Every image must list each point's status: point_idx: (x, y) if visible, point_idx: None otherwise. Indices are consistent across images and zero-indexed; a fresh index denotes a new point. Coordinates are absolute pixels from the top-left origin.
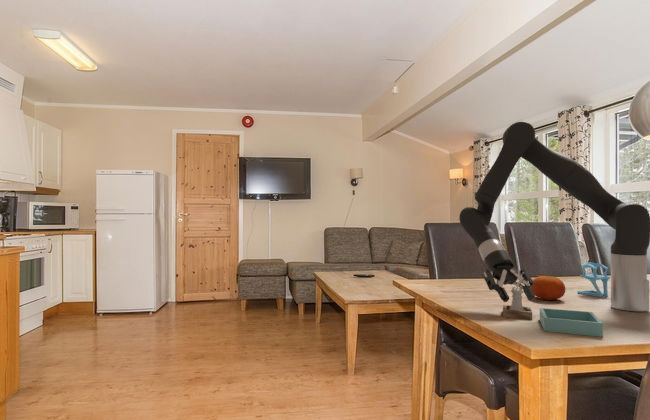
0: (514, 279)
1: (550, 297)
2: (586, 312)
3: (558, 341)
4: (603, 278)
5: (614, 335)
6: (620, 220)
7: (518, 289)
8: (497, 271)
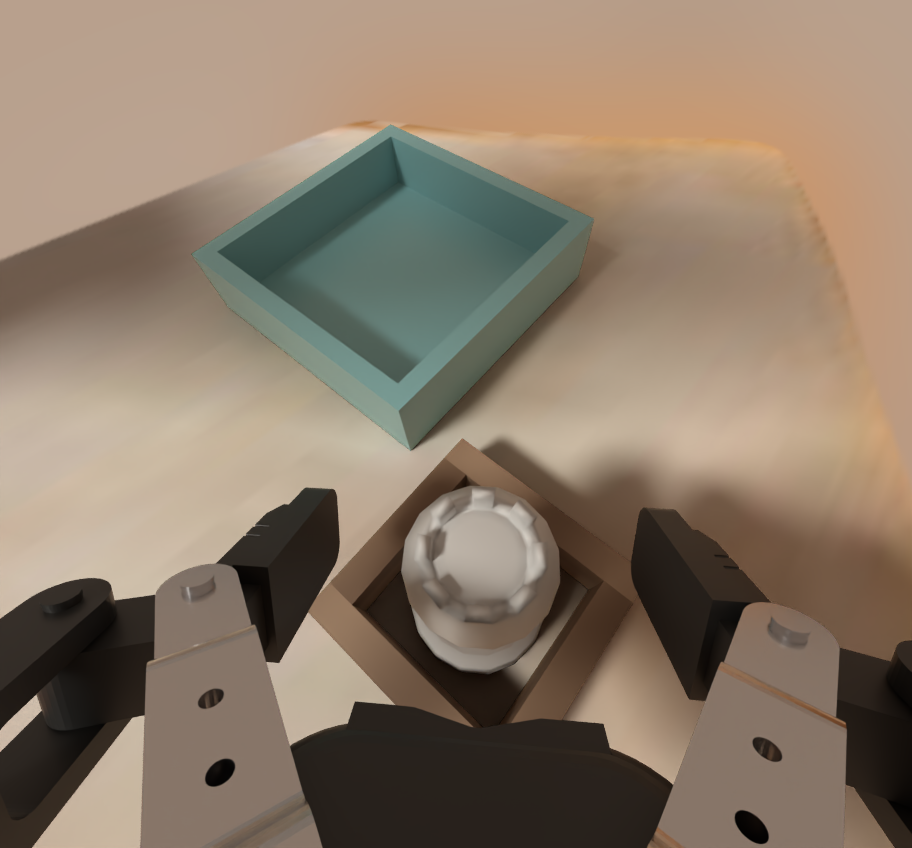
0: (375, 729)
1: None
2: (225, 259)
3: (623, 180)
4: None
5: None
6: None
7: (484, 519)
8: None
